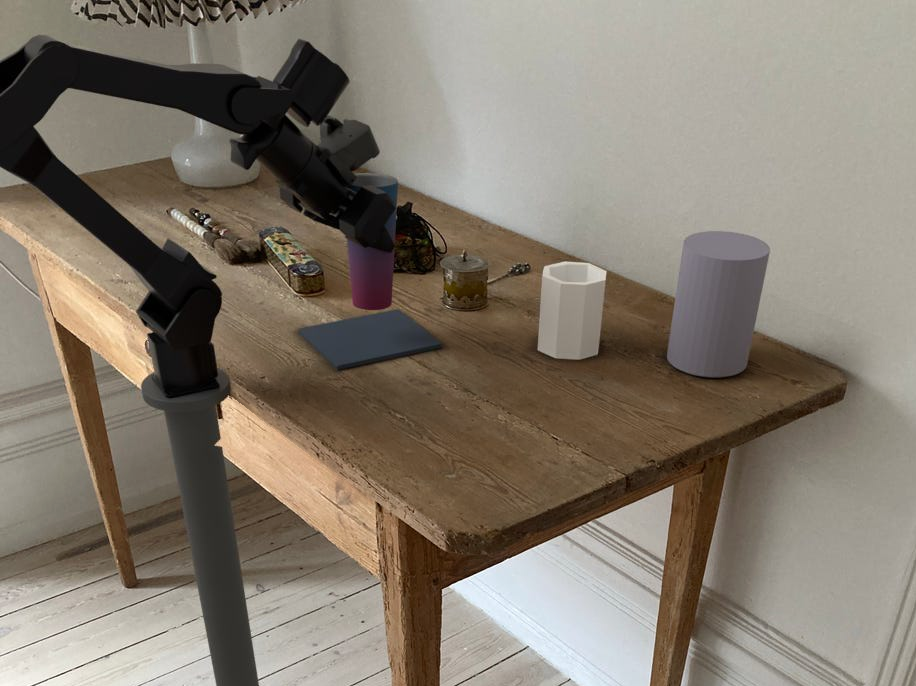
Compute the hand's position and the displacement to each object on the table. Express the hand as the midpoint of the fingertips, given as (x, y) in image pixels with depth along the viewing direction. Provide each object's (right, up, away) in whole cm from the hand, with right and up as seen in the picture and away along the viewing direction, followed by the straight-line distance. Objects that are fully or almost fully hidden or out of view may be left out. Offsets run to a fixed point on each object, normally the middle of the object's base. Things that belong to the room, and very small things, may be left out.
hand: (378, 242), depth 129 cm
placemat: (-2, -10, +8) cm, 13 cm away
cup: (-1, -7, +4) cm, 8 cm away
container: (+42, -14, +5) cm, 45 cm away
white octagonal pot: (+24, -10, +9) cm, 27 cm away
